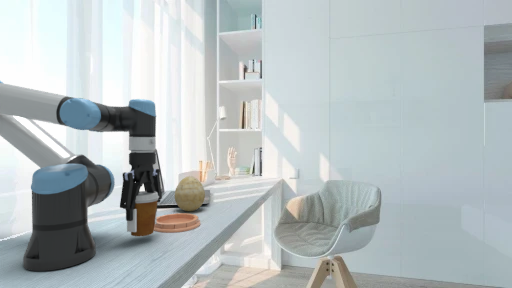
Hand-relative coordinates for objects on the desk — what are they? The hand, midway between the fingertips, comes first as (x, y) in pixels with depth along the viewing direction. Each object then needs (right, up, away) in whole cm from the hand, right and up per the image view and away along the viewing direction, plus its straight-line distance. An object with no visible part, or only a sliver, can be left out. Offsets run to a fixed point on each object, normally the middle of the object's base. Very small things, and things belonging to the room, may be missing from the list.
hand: (142, 227), depth 89 cm
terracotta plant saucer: (+6, -4, +16) cm, 18 cm away
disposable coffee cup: (0, -2, 0) cm, 2 cm away
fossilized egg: (+6, -4, +38) cm, 39 cm away
